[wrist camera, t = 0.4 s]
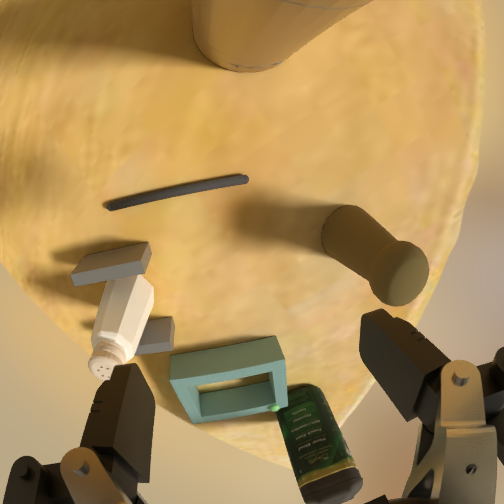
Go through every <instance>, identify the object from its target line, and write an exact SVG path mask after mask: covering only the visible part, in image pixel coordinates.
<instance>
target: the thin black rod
mask: <svg viewBox="0 0 504 504" xmlns="http://www.w3.org/2000/svg"><path fill="white" fill-rule="evenodd" d="M248 181H249V178H248V176H247V175H239V176H233V177H227V178H221V179H215V180H210V181H204V182H199V183H194V184H189V185H184V186H179V187H174V188H169V189H164V190H160V191H155V192H151V193H146V194H142V195H138V196H134V197H130V198H125V199H121V200H118V201H114V202H110V203H108V205H107V209H108V210H109V211H114V210H118V209H123V208H127V207H131V206H135V205H139V204H144V203H148V202H153V201H157V200H162V199H166V198H171V197H176V196H181V195H186V194H191V193H196V192H201V191H207V190H212V189H218V188H223V187H229V186H235V185H241V184H246V183H248Z"/></svg>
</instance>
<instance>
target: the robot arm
mask: <svg viewBox="0 0 504 504" xmlns="http://www.w3.org/2000/svg"><path fill="white" fill-rule="evenodd" d="M371 1H373V0H192V25H193V36H194V39H195V42H196V45H197V46H198V48H199V49H200V51H201V52H202V54H203V55H205V56H206V57H207V58H208V59H209V60H210V61H212V62H213V63H215V64H217V65H218V66H220V67H223V68H226V69H229V70H232V71H238V72H258V71H264V70H267V69H270V68H273V67H275V66H277V65H278V64H280V63H282V62H283V61H284V60H286V59H287V58H288V57H289V56H291V55H292V54H293V53H295V52H296V51H298V50H299V49H300V48H301V47H303V46H304V45H306V44H307V43H308V42H310V41H311V40H312V39H314V38H315V37H317V36H318V35H319V34H321V33H322V32H324V31H325V30H327V29H328V28H330V27H331V26H333V25H334V24H336V23H337V22H339V21H340V20H342V19H343V18H345V17H346V16H348V15H349V14H351V13H353V12H354V11H356V10H358V9H359V8H361V7H363V6H364V5H366V4H368V3H369V2H371ZM359 352H360V356H361V359H362V361H363V363H364V364H365V365H366V367H367V368H368V369H369V371H370V372H371V373H372V375H373V376H374V377H375V379H376V380H377V382H378V383H379V384H380V386H381V387H382V388H383V390H384V391H385V392H386V394H387V395H388V397H389V398H390V399H391V401H392V402H393V403H394V405H395V406H396V408H397V409H398V410H399V412H400V413H401V415H402V416H403V417H404V419H405V420H406V421H407V422H408V421H410V420H412V419H414V418H416V417H417V416H418V417H419V419H420V420H421V422H420V425H419V430H418V438H417V445H416V451H415V456H414V462H413V467H412V471H411V474H410V476H409V478H408V481H407V483H406V486H405V489H404V492H403V495H402V498H398V499H390V500H387V498H386V496H385V495H383V496H380V497H378V498H376V499H374V500H372V501H370V502H367V503H365V504H494V503H495V493H496V479H497V457H498V458H499V460H500V461H501V462H502V464H503V465H504V347H502V348H500V349H499V350H498V351H497V353H496V355H495V357H494V360H493V362H490V363H487V364H483V365H480V366H475V365H473V364H472V363H470V362H468V361H464V360H455V361H451V360H450V359H448V358H447V357H446V356H445V355H444V354H443V353H442V352H441V351H440V350H439V349H438V348H437V347H435V345H434V344H432V343H431V342H430V341H429V340H428V339H427V338H425V336H424V335H423V334H421V333H420V332H418V330H417V329H416V328H415V327H414V326H413V325H411V324H410V323H409V322H407V321H405V320H403V319H400V318H398V317H396V318H393V317H392V316H391V315H390V314H389V313H388V312H386V311H385V310H384V309H382V308H381V309H378V310H375V311H372V312H369V313H366V314H363V315H362V317H361V328H360V342H359ZM93 402H94V404H92V407H91V410H90V411H91V413H89V416H88V419H87V423H86V426H85V430H84V433H83V436H82V440H81V443H80V447H78V448H74V449H72V450H70V451H69V452H67V453H66V454H65V456H64V457H63V458H62V460H61V463H55V464H49V465H41V464H40V463H39V462H38V461H37V460H36V459H35V458H33V457H30V456H23V457H20V458H19V459H18V460H16V461H15V462H14V464H13V466H12V468H11V472H10V475H9V479H8V483H7V487H6V491H5V495H4V500H3V504H148V503H147V502H146V501H145V500H144V498H143V497H142V496H141V495H140V493H139V492H138V491H137V484H138V483H149V479H150V462H151V448H152V437H153V426H154V416H155V400H154V396H153V393H152V391H151V389H150V388H149V386H148V384H147V382H146V380H145V378H144V376H143V374H142V372H141V370H140V368H139V367H138V365H137V364H136V363H131V364H122V365H115V366H114V368H113V371H112V374H111V377H110V380H105V381H104V382H103V383H102V385H101V386H100V387H99V388H98V390H97V392H96V395H95V398H94V400H93Z"/></svg>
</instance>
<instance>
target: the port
mask: <svg viewBox="0 0 504 504" xmlns="http://www.w3.org/2000/svg"><path fill="white" fill-rule="evenodd" d="M267 372H268V375H269V381H266V382H261V383H257V384H252V385H247V386H242V387H237V388H232V389H226V390H220V391H214V392H208V393H201V394H199V391H198V389H197V387H196V386H197V385H204V384H210V383H216V382H222V381H228V380H233V379H238V378H243V377H248V376H253V375H258V374H262V373H267ZM169 381H170V383H171V385H172V387H173V388H174V390H175V392H176V394H177V396H178V398H179V400H180V402H181V403H182V405H183V407H184V409H185V411H186V412H187V414H188V416H189V418H190V419H191V421H192V423H193V424H197V423H205V422H212V421H219V420H225V419H231V418H237V417H242V416H248V415H253V414H257V413H262V412H267V411H272V412H275V411H278V410H279V409H280V408H283V407H287V406H288V396H287V381H286V366H285V358H284V355H283V353H282V350H281V348H280V345H279V342H278V340H277V337H276V336H273V337H268V338H264V339H259V340H254V341H250V342H245V343H240V344H235V345H230V346H224V347H219V348H213V349H208V350H202V351H196V352H190V353H183V354H176V355H171V357H170V376H169Z"/></svg>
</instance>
